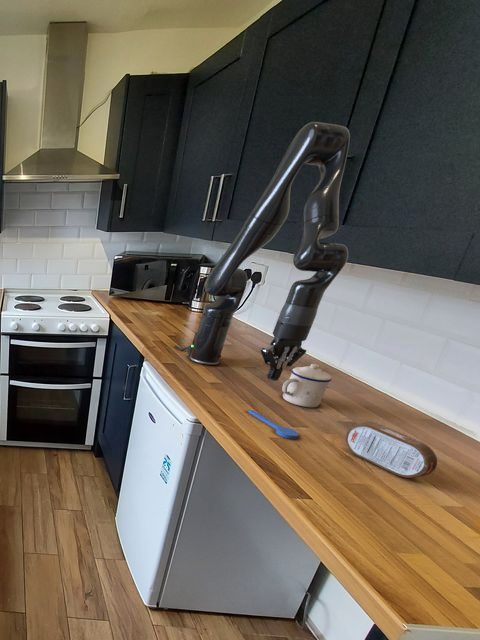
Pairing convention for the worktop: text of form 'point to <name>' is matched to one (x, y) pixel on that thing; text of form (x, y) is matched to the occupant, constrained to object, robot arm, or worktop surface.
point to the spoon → (276, 427)
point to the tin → (391, 450)
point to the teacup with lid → (306, 386)
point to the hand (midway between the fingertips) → (272, 379)
